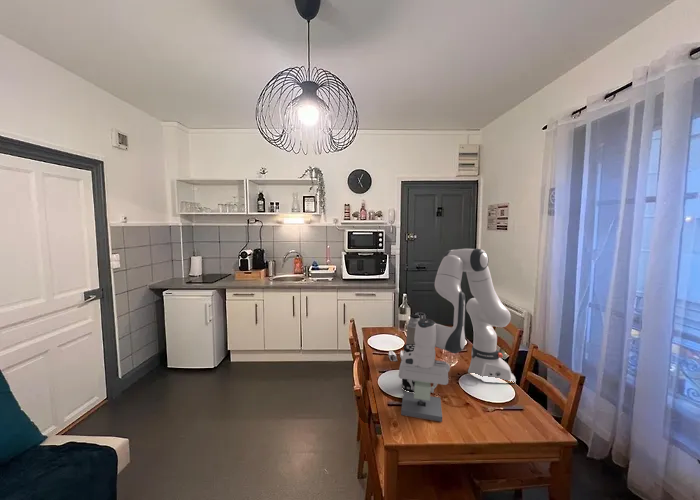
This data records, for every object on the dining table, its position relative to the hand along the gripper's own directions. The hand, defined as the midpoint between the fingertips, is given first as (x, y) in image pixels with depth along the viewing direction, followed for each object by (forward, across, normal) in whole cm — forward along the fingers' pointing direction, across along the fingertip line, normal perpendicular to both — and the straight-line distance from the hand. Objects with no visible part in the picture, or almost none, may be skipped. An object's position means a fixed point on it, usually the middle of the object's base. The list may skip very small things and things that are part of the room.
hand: (422, 390), depth 132 cm
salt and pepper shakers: (+8, +13, -47) cm, 49 cm away
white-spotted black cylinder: (+8, +5, -15) cm, 18 cm away
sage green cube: (+2, 0, 0) cm, 2 cm away
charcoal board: (+8, 0, 0) cm, 8 cm away
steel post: (+7, 0, 0) cm, 7 cm away
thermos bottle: (+8, +5, -40) cm, 41 cm away
